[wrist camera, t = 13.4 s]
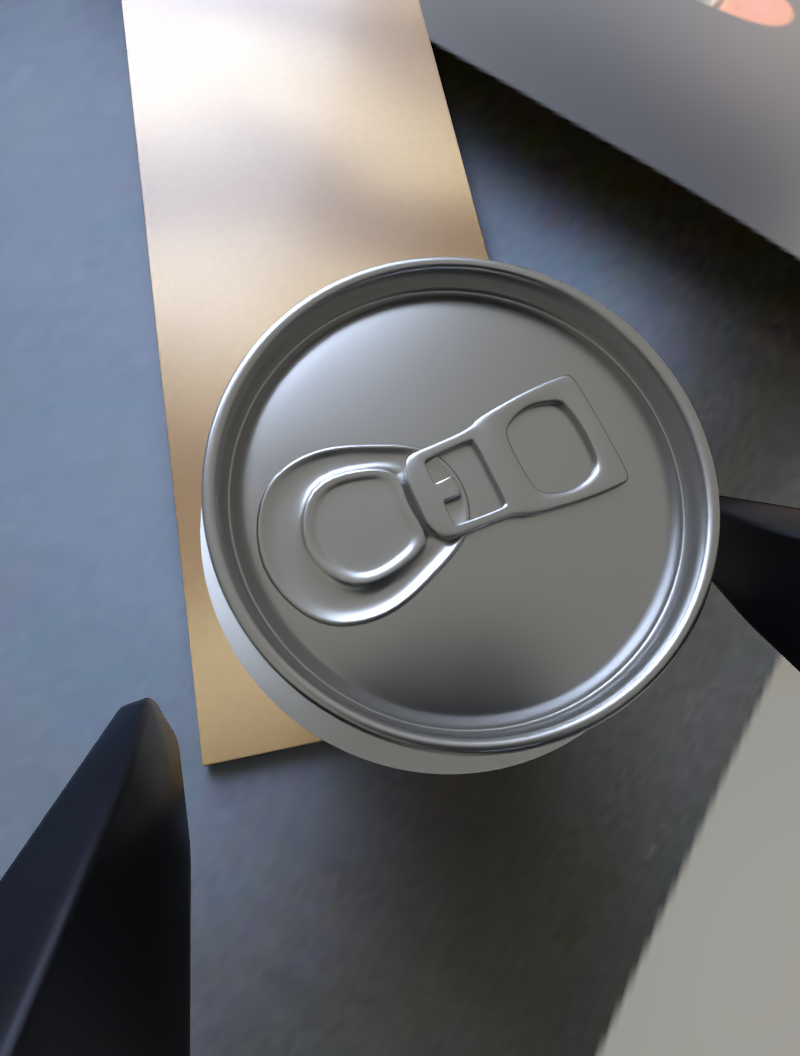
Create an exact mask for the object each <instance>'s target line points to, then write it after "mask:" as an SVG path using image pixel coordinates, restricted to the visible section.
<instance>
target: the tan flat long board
mask: <svg viewBox="0 0 800 1056" xmlns="http://www.w3.org/2000/svg"><path fill="white" fill-rule="evenodd" d="M121 1H122V10H123V19H124V29H125V38H126V48H127V57H128V67H129V76H130V85H131V95H132V104H133V114H134V123H135V132H136V142H137V151H138V161H139V170H140V180H141V189H142V198H143V208H144V217H145V227H146V236H147V246H148V255H149V264H150V274H151V283H152V293H153V302H154V312H155V321H156V330H157V340H158V349H159V359H160V368H161V377H162V387H163V396H164V406H165V415H166V425H167V434H168V443H169V453H170V462H171V472H172V481H173V491H174V500H175V509H176V519H177V528H178V538H179V547H180V557H181V566H182V575H183V585H184V594H185V604H186V613H187V623H188V632H189V641H190V651H191V660H192V670H193V679H194V688H195V698H196V707H197V717H198V726H199V736H200V745H201V754H202V764H203V766H207V765H212V764H217V763H221V762H226V761H231V760H236V759H240V758H245V757H250V756H254V755H259V754H264V753H269V752H273V751H278V750H283V749H287V748H292V747H297V746H302V745H306V744H311V743H316V742H320V741H324V740H322V739H320V738H319V737H317V736H316V735H314V734H312V733H311V732H309V731H308V730H307V729H305V728H304V727H302V726H301V725H300V724H298V723H297V722H296V721H294V720H293V719H292V718H291V717H289V716H288V715H287V714H286V713H285V712H284V711H282V710H281V709H280V708H279V707H278V706H277V705H276V704H275V703H274V702H273V701H272V700H271V699H270V698H269V697H268V696H267V695H266V694H265V693H264V692H263V691H262V690H261V688H260V687H259V686H258V685H257V684H256V683H255V681H254V680H253V679H252V678H251V676H250V675H249V674H248V672H247V671H246V670H245V668H244V667H243V665H242V664H241V662H240V661H239V659H238V658H237V656H236V654H235V653H234V651H233V650H232V648H231V646H230V644H229V642H228V640H227V639H226V637H225V634H224V632H223V630H222V628H221V626H220V624H219V621H218V619H217V616H216V614H215V611H214V608H213V605H212V602H211V599H210V596H209V592H208V588H207V584H206V580H205V575H204V569H203V563H202V555H201V539H200V524H201V508H202V503H201V483H202V468H203V461H204V454H205V448H206V443H207V439H208V435H209V431H210V427H211V424H212V421H213V418H214V415H215V412H216V409H217V407H218V404H219V402H220V400H221V397H222V395H223V393H224V391H225V389H226V387H227V385H228V383H229V381H230V379H231V378H232V376H233V374H234V373H235V371H236V369H237V368H238V366H239V365H240V363H241V362H242V360H243V359H244V357H245V356H246V355H247V353H248V352H249V351H250V349H251V348H252V347H253V346H254V344H255V343H256V342H257V341H258V340H259V338H260V337H261V336H262V335H263V334H264V333H265V332H266V331H267V330H268V329H269V328H270V327H271V326H272V325H273V324H274V323H275V322H276V321H277V320H278V319H279V318H281V317H282V316H283V315H284V314H285V313H286V312H288V311H289V310H290V309H291V308H293V307H294V306H295V305H297V304H298V303H300V302H301V301H302V300H304V299H305V298H307V297H308V296H310V295H312V294H313V293H315V292H317V291H318V290H320V289H322V288H323V287H325V286H327V285H329V284H331V283H333V282H335V281H337V280H340V279H342V278H344V277H346V276H349V275H351V274H354V273H357V272H359V271H362V270H365V269H368V268H372V267H375V266H379V265H382V264H386V263H391V262H396V261H401V260H407V259H415V258H425V257H469V258H479V259H486V260H489V259H488V255H487V251H486V247H485V244H484V240H483V236H482V233H481V229H480V225H479V221H478V218H477V214H476V210H475V207H474V203H473V199H472V195H471V192H470V188H469V184H468V181H467V177H466V173H465V169H464V166H463V162H462V158H461V155H460V151H459V147H458V143H457V140H456V136H455V132H454V129H453V125H452V121H451V117H450V114H449V110H448V106H447V102H446V99H445V95H444V91H443V88H442V84H441V80H440V76H439V73H438V69H437V65H436V62H435V58H434V54H433V50H432V47H431V43H430V39H429V36H428V32H427V28H426V24H425V21H424V17H423V13H422V10H421V6H420V2H419V0H121Z"/></svg>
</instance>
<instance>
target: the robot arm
mask: <svg viewBox="0 0 800 1056" xmlns="http://www.w3.org/2000/svg"><path fill="white" fill-rule="evenodd" d="M719 506H720V534H719V545H718V553H717V560H716V565H715V570H714V574H713V578H712V582H713V583H714V584H715V585H716V586H717V588H718V589H719V590H720V591H721V592H722V593H723V595H724V596H725V597H726V598H727V599H728V600H729V601H730V603H731V604H732V605H733V606H734V607H735V608H736V610H737V611H738V612H739V613H740V614H741V615H742V616H743V617H744V618H745V620H746V621H747V622H748V623H749V624H750V625H751V626H752V627H753V628H754V629H755V630H756V631H757V632H758V633H759V634H760V635H761V636H762V637H764V638H765V639H766V640H767V641H768V642H769V643H770V644H771V645H772V646H773V647H774V648H775V649H776V650H777V651H778V652H779V653H780V654H781V655H783V656H784V657H785V658H786V659H787V660H788V661H789V662H790V663H791V664H792V665H793V666H794V667H795V668H796V669H797V670H798V671H799V672H800V508H793V507H787V506H781V505H775V504H769V503H763V502H756V501H750V500H744V499H738V498H732V497H725V496H719ZM190 913H191V858H190V840H189V829H188V821H187V812H186V803H185V795H184V786H183V778H182V769H181V761H180V752H179V746H178V741H177V738H176V736H175V733H174V732H173V730H172V728H171V727H170V725H169V723H168V722H167V720H166V718H165V717H164V715H163V714H162V712H161V710H160V709H159V707H158V705H157V704H156V702H155V701H154V700H152V699H150V698H144V699H141V700H139V701H136V702H133V703H130V704H127V705H125V706H123V707H121V708H120V709H119V710H118V712H117V713H116V714H115V716H114V717H113V719H112V720H111V722H110V723H109V725H108V726H107V727H106V729H105V730H104V732H103V733H102V735H101V736H100V737H99V739H98V740H97V742H96V743H95V745H94V746H93V748H92V749H91V750H90V752H89V753H88V755H87V756H86V758H85V759H84V761H83V762H82V763H81V765H80V766H79V768H78V769H77V771H76V772H75V774H74V775H73V776H72V778H71V779H70V781H69V782H68V784H67V785H66V787H65V788H64V789H63V791H62V792H61V794H60V795H59V797H58V798H57V800H56V801H55V802H54V804H53V805H52V807H51V808H50V810H49V811H48V813H47V814H46V815H45V817H44V818H43V820H42V821H41V823H40V824H39V826H38V827H37V828H36V830H35V831H34V833H33V834H32V836H31V837H30V838H29V840H28V841H27V843H26V844H25V846H24V847H23V849H22V850H21V851H20V853H19V854H18V856H17V857H16V859H15V860H14V862H13V863H12V864H11V866H10V867H9V869H8V870H7V872H6V873H5V875H4V876H3V877H2V879H1V880H0V1056H190Z"/></svg>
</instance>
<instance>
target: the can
mask: <svg viewBox="0 0 800 1056" xmlns="http://www.w3.org/2000/svg"><path fill="white" fill-rule="evenodd" d="M201 503H202V508H201V524H200V539H201V555H202V563H203V569H204V575H205V580H206V584H207V588H208V592H209V596H210V599H211V602H212V605H213V608H214V611H215V614H216V616H217V619H218V621H219V624H220V626H221V628H222V630H223V632H224V634H225V637H226V639H227V640H228V642H229V644H230V646H231V648H232V650H233V651H234V653H235V654H236V656H237V658H238V659H239V661H240V662H241V664H242V665H243V667H244V668H245V670H246V671H247V672H248V674H249V675H250V676H251V678H252V679H253V680H254V681H255V683H256V684H257V685H258V686H259V687H260V688H261V690H262V691H263V692H264V693H265V694H266V695H267V696H268V697H269V698H270V699H271V700H272V701H273V702H274V703H275V704H276V705H277V706H278V707H279V708H280V709H281V710H282V711H284V712H285V713H286V714H287V715H288V716H289V717H291V718H292V719H293V720H294V721H296V722H297V723H298V724H300V725H301V726H302V727H304V728H305V729H307V730H308V731H309V732H311V733H312V734H314V735H316V736H317V737H319V738H320V739H322V740H324V741H326V742H327V743H329V744H331V745H333V746H335V747H337V748H339V749H341V750H343V751H345V752H347V753H350V754H352V755H355V756H357V757H360V758H362V759H365V760H368V761H371V762H374V763H377V764H381V765H384V766H388V767H392V768H396V769H401V770H407V771H413V772H420V773H431V774H467V773H478V772H486V771H491V770H497V769H502V768H506V767H510V766H514V765H517V764H520V763H524V762H527V761H529V760H532V759H535V758H537V757H540V756H542V755H545V754H547V753H549V752H551V751H553V750H555V749H557V748H559V747H561V746H563V745H565V744H566V743H568V742H570V741H572V740H573V739H575V738H576V737H578V736H580V735H581V734H582V733H584V732H585V731H587V730H589V729H591V728H593V727H595V726H596V725H598V724H600V723H602V722H604V721H605V720H607V719H608V718H610V717H612V716H613V715H615V714H616V713H618V712H619V711H621V710H622V709H623V708H625V707H626V706H628V705H629V704H630V703H631V702H633V701H634V700H635V699H636V698H638V697H639V696H640V695H641V694H642V693H643V692H644V691H645V690H647V689H648V688H649V687H650V686H651V685H652V684H653V683H654V682H655V681H656V680H657V679H658V677H659V676H660V675H661V674H662V673H663V672H664V671H665V670H666V668H667V667H668V666H669V665H670V663H671V662H672V661H673V659H674V658H675V657H676V655H677V654H678V652H679V651H680V650H681V648H682V646H683V645H684V643H685V642H686V640H687V639H688V637H689V635H690V633H691V631H692V630H693V628H694V626H695V624H696V622H697V620H698V618H699V615H700V613H701V611H702V608H703V606H704V603H705V600H706V598H707V595H708V592H709V589H710V585H711V582H712V578H713V574H714V570H715V565H716V560H717V553H718V545H719V534H720V506H719V494H718V485H717V479H716V474H715V469H714V464H713V460H712V456H711V452H710V449H709V446H708V443H707V440H706V437H705V434H704V431H703V429H702V426H701V424H700V422H699V419H698V417H697V415H696V413H695V411H694V409H693V407H692V405H691V403H690V401H689V399H688V397H687V396H686V394H685V392H684V390H683V389H682V387H681V385H680V384H679V382H678V381H677V379H676V378H675V376H674V375H673V374H672V372H671V371H670V369H669V368H668V367H667V365H666V364H665V363H664V361H663V360H662V359H661V358H660V357H659V355H658V354H657V353H656V352H655V351H654V350H653V349H652V347H651V346H650V345H649V344H648V343H647V342H646V341H645V340H644V339H643V338H642V337H641V336H640V335H639V334H638V333H637V332H636V331H635V330H634V329H633V328H631V327H630V326H629V325H628V324H627V323H626V322H624V321H623V320H622V319H621V318H620V317H618V316H617V315H616V314H614V313H613V312H612V311H610V310H609V309H608V308H606V307H605V306H603V305H602V304H600V303H599V302H597V301H596V300H594V299H593V298H591V297H589V296H588V295H586V294H584V293H583V292H581V291H579V290H577V289H575V288H573V287H571V286H569V285H567V284H565V283H563V282H561V281H559V280H556V279H554V278H552V277H549V276H547V275H544V274H541V273H539V272H536V271H533V270H530V269H526V268H523V267H520V266H516V265H512V264H508V263H503V262H498V261H492V260H486V259H479V258H469V257H425V258H415V259H407V260H401V261H396V262H391V263H386V264H382V265H379V266H375V267H372V268H368V269H365V270H362V271H359V272H357V273H354V274H351V275H349V276H346V277H344V278H342V279H340V280H337V281H335V282H333V283H331V284H329V285H327V286H325V287H323V288H322V289H320V290H318V291H317V292H315V293H313V294H312V295H310V296H308V297H307V298H305V299H304V300H302V301H301V302H300V303H298V304H297V305H295V306H294V307H293V308H291V309H290V310H289V311H288V312H286V313H285V314H284V315H283V316H282V317H281V318H279V319H278V320H277V321H276V322H275V323H274V324H273V325H272V326H271V327H270V328H269V329H268V330H267V331H266V332H265V333H264V334H263V335H262V336H261V337H260V338H259V340H258V341H257V342H256V343H255V344H254V346H253V347H252V348H251V349H250V351H249V352H248V353H247V355H246V356H245V357H244V359H243V360H242V362H241V363H240V365H239V366H238V368H237V369H236V371H235V373H234V374H233V376H232V378H231V379H230V381H229V383H228V385H227V387H226V389H225V391H224V393H223V395H222V397H221V400H220V402H219V404H218V407H217V409H216V412H215V415H214V418H213V421H212V424H211V427H210V431H209V435H208V439H207V443H206V448H205V454H204V461H203V468H202V483H201Z"/></svg>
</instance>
